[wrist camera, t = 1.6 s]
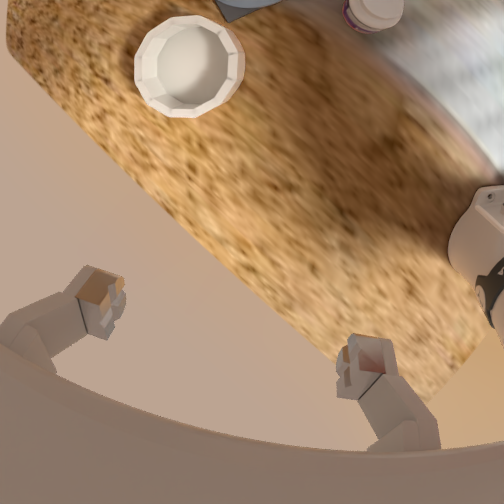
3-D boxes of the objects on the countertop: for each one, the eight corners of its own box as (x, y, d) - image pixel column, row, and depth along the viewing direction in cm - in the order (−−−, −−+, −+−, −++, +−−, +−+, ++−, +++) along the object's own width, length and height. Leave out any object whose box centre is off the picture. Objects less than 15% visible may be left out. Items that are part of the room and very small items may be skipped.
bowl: (218, 4, 28) (206, -3, 24) (262, 84, 33) (257, 87, 29) (138, 52, 32) (118, 53, 28) (179, 125, 38) (164, 135, 34)
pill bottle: (363, -14, 24) (382, -36, 16) (395, 19, 26) (423, 8, 18) (331, 9, 27) (341, -8, 19) (363, 42, 28) (383, 36, 20)
